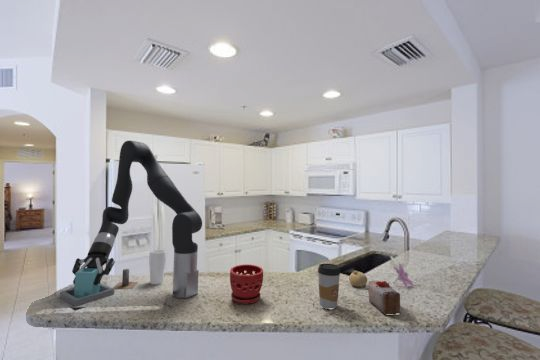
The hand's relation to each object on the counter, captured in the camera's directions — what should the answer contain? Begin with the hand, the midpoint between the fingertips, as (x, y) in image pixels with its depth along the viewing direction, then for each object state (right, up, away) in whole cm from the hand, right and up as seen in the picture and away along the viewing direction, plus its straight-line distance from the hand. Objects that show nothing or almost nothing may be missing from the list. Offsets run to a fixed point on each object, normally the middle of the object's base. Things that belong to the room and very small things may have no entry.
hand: (85, 284), depth 99 cm
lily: (+131, -11, +24) cm, 133 cm away
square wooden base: (+8, -7, +13) cm, 17 cm away
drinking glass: (+19, -8, +18) cm, 27 cm away
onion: (+110, -10, +23) cm, 113 cm away
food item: (+112, -9, +1) cm, 113 cm away
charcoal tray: (0, -6, +1) cm, 7 cm away
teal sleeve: (0, -4, +2) cm, 5 cm away
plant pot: (+60, -8, +5) cm, 60 cm away
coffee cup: (+91, -9, +1) cm, 92 cm away
